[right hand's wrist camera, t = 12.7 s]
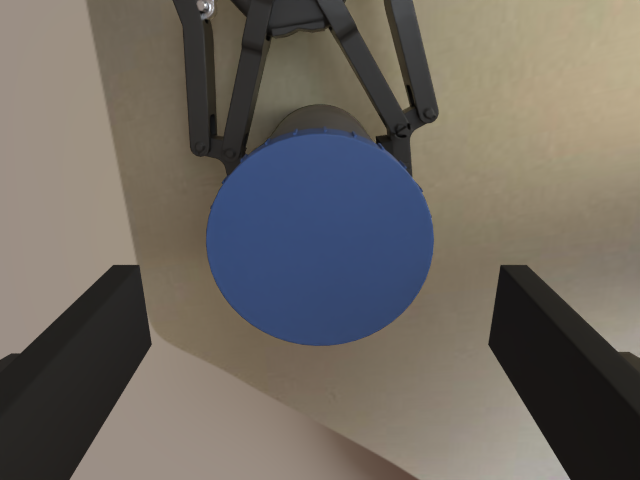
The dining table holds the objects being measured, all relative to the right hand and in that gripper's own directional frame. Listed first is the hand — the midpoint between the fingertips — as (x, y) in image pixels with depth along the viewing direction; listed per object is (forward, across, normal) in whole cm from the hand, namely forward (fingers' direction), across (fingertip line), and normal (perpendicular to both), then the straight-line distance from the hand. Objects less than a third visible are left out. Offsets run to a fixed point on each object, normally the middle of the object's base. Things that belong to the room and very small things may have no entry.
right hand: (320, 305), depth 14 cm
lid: (+5, 0, 0) cm, 5 cm away
